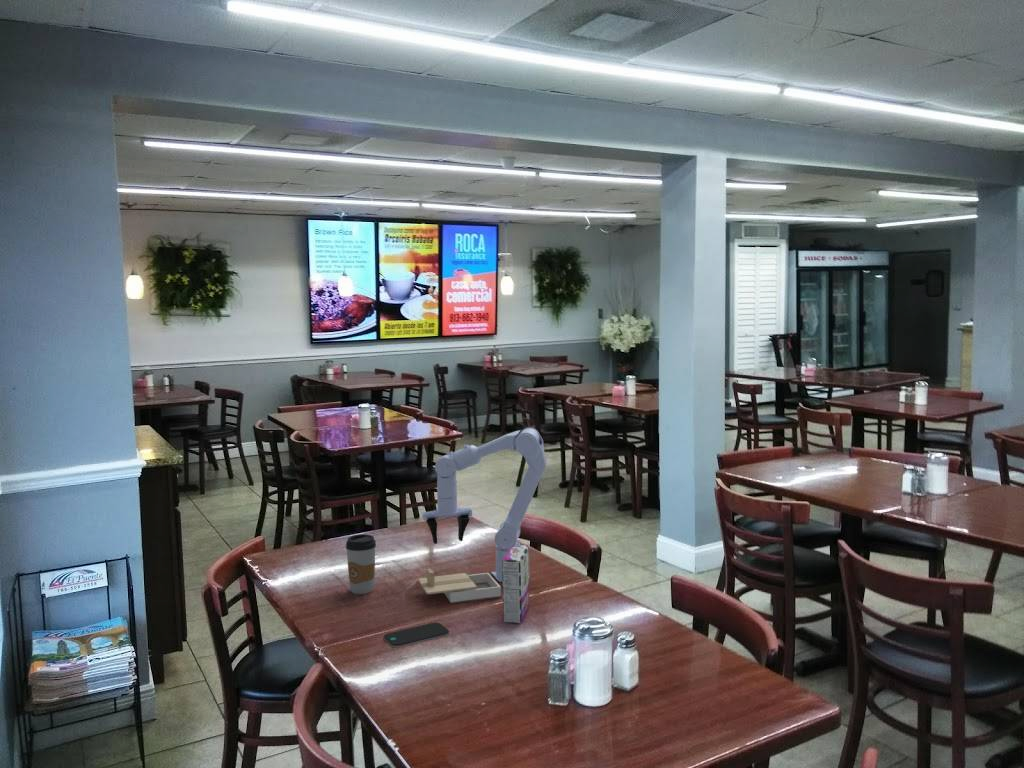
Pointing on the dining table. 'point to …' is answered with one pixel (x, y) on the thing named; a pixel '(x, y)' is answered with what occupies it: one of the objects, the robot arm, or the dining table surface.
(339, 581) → the dining table surface
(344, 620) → the dining table surface
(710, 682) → the dining table surface
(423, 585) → the beige sliding box lid
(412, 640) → the smartphone
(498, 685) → the dining table surface
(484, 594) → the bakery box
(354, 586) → the coffee cup
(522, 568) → the candy bar box
